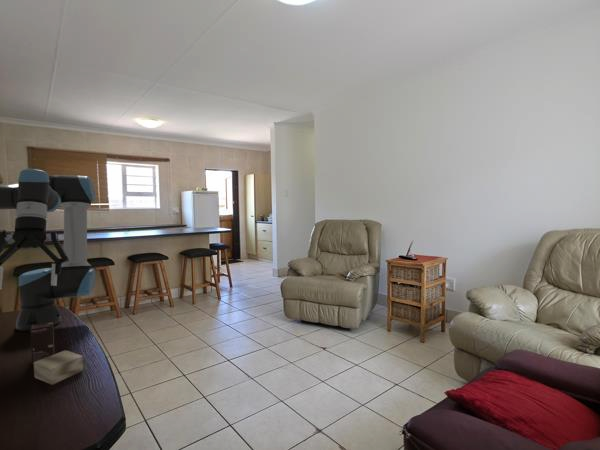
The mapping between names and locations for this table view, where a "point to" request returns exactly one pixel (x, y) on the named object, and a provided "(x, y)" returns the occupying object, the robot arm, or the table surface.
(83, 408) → the table surface
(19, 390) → the table surface
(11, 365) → the table surface
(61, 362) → the ash block
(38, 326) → the box
